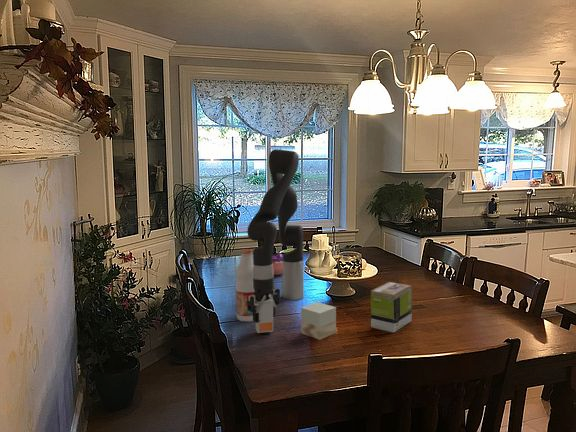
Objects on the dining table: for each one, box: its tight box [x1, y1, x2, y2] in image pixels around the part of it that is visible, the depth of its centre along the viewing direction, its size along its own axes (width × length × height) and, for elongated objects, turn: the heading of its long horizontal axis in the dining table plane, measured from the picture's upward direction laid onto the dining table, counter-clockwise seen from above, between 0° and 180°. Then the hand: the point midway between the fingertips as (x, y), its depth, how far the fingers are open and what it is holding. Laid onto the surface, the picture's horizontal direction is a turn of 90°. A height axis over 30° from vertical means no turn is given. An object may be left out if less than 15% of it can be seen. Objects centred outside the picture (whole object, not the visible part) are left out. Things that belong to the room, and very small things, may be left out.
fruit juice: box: [235, 248, 255, 323], centre depth 193 cm, size 9×9×28 cm
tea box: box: [370, 281, 413, 333], centre depth 184 cm, size 15×10×15 cm
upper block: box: [300, 301, 337, 327], centre depth 177 cm, size 9×9×5 cm
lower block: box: [300, 320, 337, 341], centre depth 178 cm, size 9×9×5 cm
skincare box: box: [255, 299, 274, 334], centre depth 178 cm, size 6×4×12 cm
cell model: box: [273, 252, 284, 276], centre depth 262 cm, size 17×20×11 cm
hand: (264, 319), depth 178 cm, fingers closed on skincare box, 7 cm apart
